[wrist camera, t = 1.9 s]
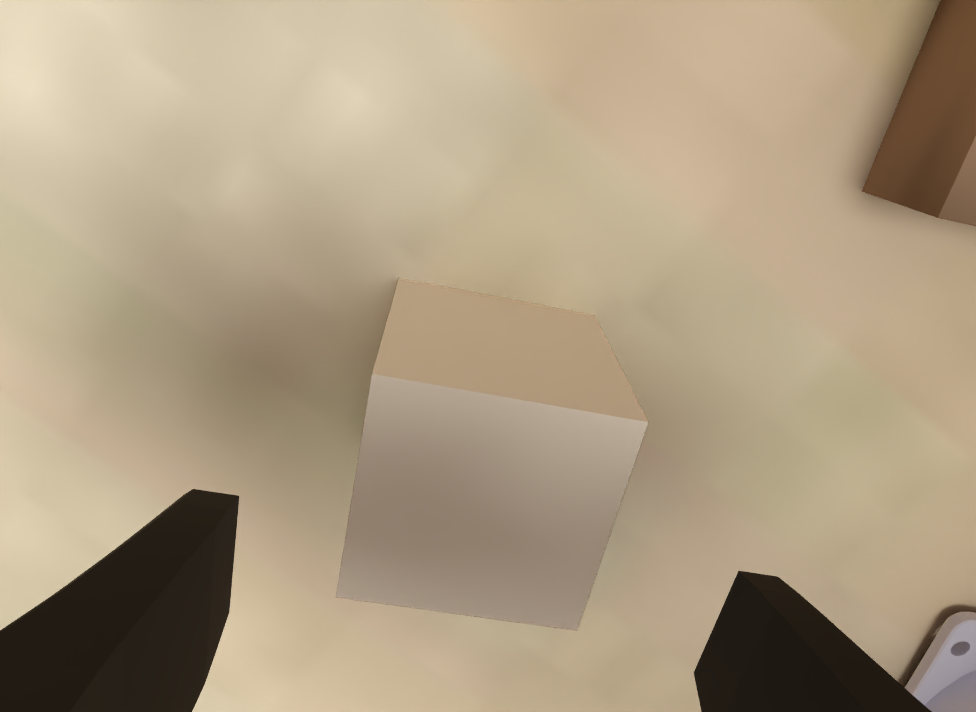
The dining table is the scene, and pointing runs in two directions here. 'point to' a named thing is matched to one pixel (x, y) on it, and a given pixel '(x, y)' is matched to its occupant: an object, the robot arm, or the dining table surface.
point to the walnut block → (935, 124)
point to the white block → (488, 459)
